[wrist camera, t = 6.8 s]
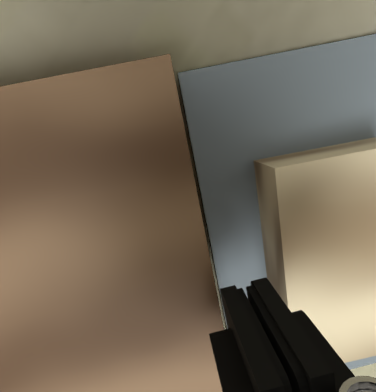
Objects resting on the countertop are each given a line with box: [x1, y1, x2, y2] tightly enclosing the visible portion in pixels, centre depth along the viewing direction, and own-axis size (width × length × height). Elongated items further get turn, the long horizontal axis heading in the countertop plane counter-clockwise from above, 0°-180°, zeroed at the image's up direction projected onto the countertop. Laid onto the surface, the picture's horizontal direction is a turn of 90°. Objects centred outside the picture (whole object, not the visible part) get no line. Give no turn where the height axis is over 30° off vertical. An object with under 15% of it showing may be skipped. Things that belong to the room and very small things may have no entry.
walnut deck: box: [0, 54, 224, 392], centre depth 12 cm, size 18×12×4 cm, turn 11°
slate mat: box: [178, 34, 376, 369], centre depth 15 cm, size 18×11×1 cm, turn 11°
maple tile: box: [254, 137, 376, 363], centre depth 14 cm, size 10×6×2 cm, turn 10°
